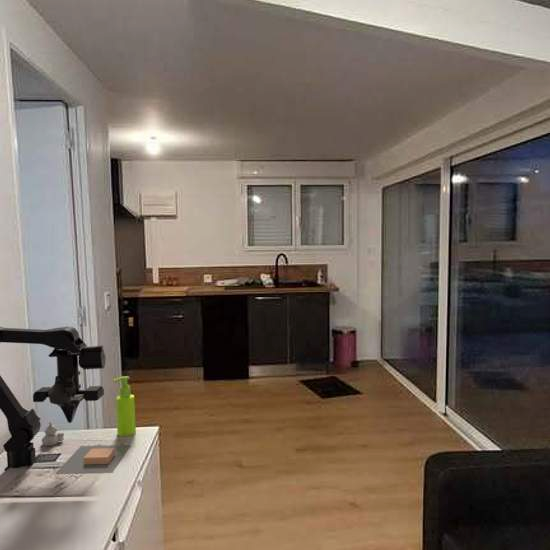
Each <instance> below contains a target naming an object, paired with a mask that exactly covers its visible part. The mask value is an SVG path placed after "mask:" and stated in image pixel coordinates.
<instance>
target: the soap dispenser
mask: <svg viewBox="0 0 550 550" xmlns="http://www.w3.org/2000/svg"><path fill="white" fill-rule="evenodd" d="M129 379H130V376H128V375H124V376H119V377H115V378H113V379H112V381H113V382H114V383H117V382H120V381H121V386H119V395H118V396H116V397H115V399H116V404H115V405H116V427H117V432H116V433H117V435H118V436H121V437H128V436H131V435H134V434H135V433H136V432H137V430H136V428H137V427H136V426H137V425H136V404H135V403H136V402H135V401H136V400H135V398H136V397H135V395H134V394H131V385H129V383H128V380H129Z"/></svg>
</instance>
